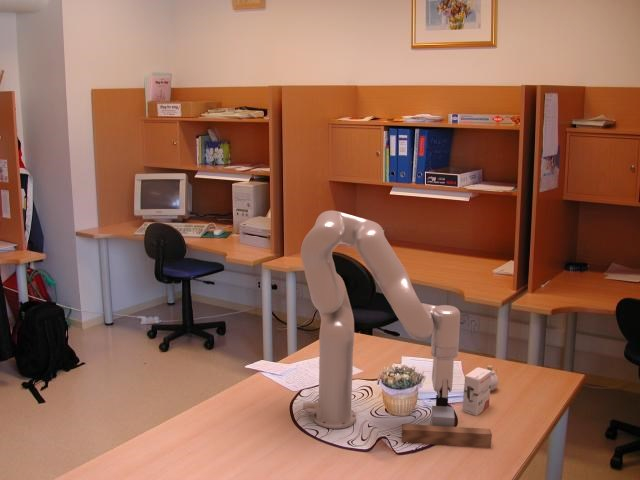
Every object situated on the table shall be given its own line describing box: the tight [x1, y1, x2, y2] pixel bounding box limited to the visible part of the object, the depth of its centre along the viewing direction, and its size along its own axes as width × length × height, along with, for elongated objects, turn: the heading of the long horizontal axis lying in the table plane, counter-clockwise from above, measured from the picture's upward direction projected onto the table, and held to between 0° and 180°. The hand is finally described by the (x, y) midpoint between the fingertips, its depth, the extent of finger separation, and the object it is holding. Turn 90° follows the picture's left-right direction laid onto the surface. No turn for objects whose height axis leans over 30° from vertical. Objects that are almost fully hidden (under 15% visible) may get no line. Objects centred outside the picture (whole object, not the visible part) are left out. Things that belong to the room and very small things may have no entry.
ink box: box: [461, 367, 492, 417], centre depth 216 cm, size 9×5×12 cm, turn 141°
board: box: [401, 423, 493, 449], centre depth 198 cm, size 24×3×4 cm, turn 86°
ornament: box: [486, 363, 499, 392], centre depth 229 cm, size 6×7×10 cm
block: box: [430, 405, 456, 427], centre depth 203 cm, size 6×6×6 cm
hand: (441, 408), depth 207 cm, fingers closed
